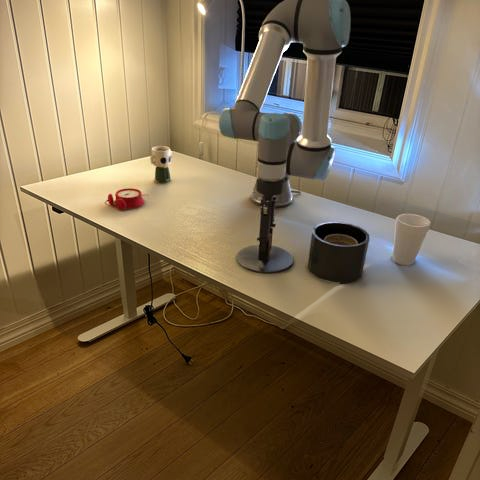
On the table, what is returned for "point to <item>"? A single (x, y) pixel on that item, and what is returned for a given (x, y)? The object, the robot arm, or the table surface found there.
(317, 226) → the canister
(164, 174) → the character mug
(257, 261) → the lid
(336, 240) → the flower pot
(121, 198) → the alarm clock
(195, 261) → the table surface
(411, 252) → the foam cup
